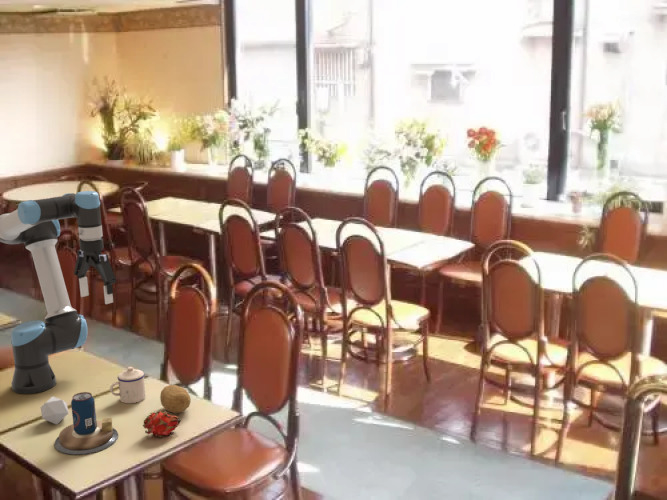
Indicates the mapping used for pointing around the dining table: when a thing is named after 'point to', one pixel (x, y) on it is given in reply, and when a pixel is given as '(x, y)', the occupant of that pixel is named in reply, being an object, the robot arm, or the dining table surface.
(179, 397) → the potato
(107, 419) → the turntable
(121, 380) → the teacup with lid
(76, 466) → the dining table surface
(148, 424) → the dragon fruit
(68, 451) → the turntable base
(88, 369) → the dining table surface
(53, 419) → the die
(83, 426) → the soda can
